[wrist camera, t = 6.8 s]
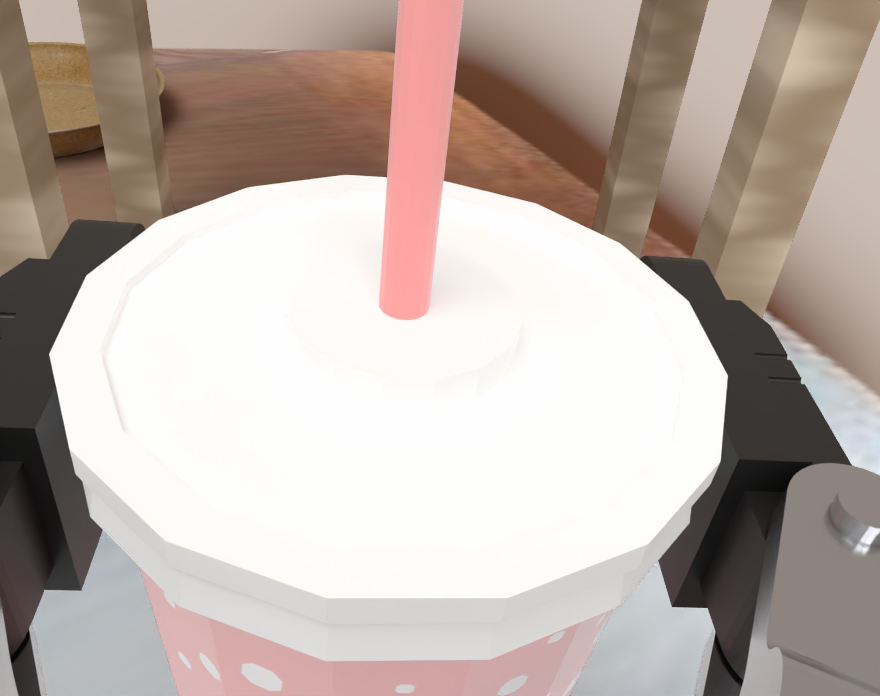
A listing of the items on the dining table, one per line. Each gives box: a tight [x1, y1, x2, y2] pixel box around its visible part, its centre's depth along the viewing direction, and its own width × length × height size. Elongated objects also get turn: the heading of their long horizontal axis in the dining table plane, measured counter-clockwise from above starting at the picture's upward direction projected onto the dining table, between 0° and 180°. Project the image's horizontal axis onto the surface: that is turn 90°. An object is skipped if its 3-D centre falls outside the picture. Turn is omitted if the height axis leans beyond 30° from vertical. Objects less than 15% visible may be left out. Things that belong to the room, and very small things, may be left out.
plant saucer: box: [28, 42, 165, 157], centre depth 50 cm, size 15×15×3 cm
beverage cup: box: [49, 0, 728, 696], centre depth 9 cm, size 6×6×14 cm
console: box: [0, 0, 880, 318], centre depth 29 cm, size 24×14×22 cm, turn 92°
